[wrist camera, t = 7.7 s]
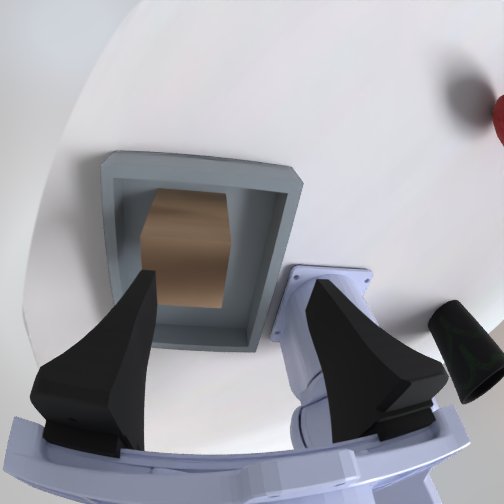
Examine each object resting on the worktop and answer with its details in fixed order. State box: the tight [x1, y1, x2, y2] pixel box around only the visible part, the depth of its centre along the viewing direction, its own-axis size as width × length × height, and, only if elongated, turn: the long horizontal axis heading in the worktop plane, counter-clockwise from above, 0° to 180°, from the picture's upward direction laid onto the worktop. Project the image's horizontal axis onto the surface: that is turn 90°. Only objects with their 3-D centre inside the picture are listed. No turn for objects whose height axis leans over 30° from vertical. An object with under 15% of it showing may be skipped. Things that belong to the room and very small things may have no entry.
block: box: [140, 188, 232, 308], centre depth 18 cm, size 4×4×6 cm
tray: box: [101, 151, 304, 352], centre depth 22 cm, size 16×12×3 cm
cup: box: [428, 300, 504, 404], centre depth 28 cm, size 8×8×12 cm
